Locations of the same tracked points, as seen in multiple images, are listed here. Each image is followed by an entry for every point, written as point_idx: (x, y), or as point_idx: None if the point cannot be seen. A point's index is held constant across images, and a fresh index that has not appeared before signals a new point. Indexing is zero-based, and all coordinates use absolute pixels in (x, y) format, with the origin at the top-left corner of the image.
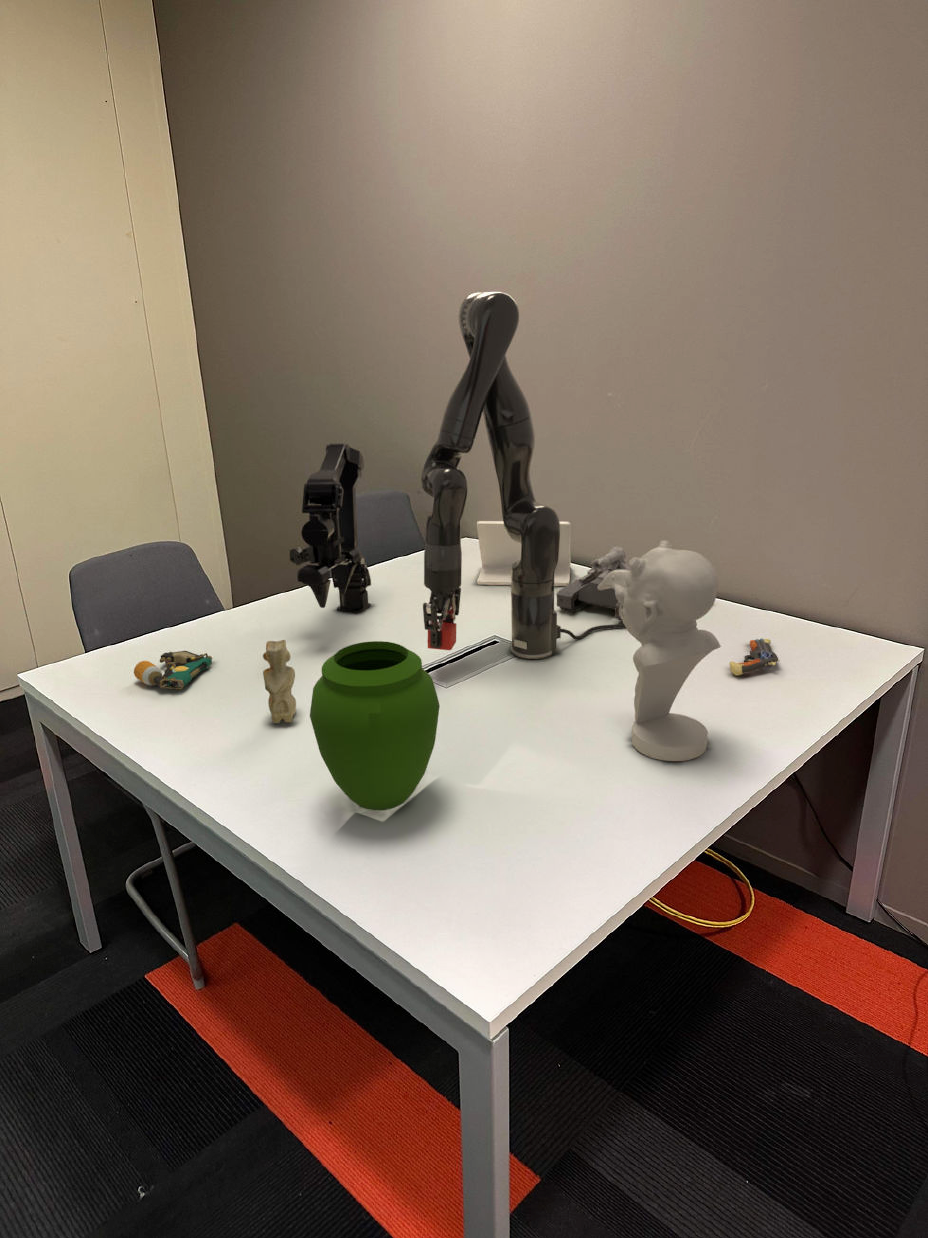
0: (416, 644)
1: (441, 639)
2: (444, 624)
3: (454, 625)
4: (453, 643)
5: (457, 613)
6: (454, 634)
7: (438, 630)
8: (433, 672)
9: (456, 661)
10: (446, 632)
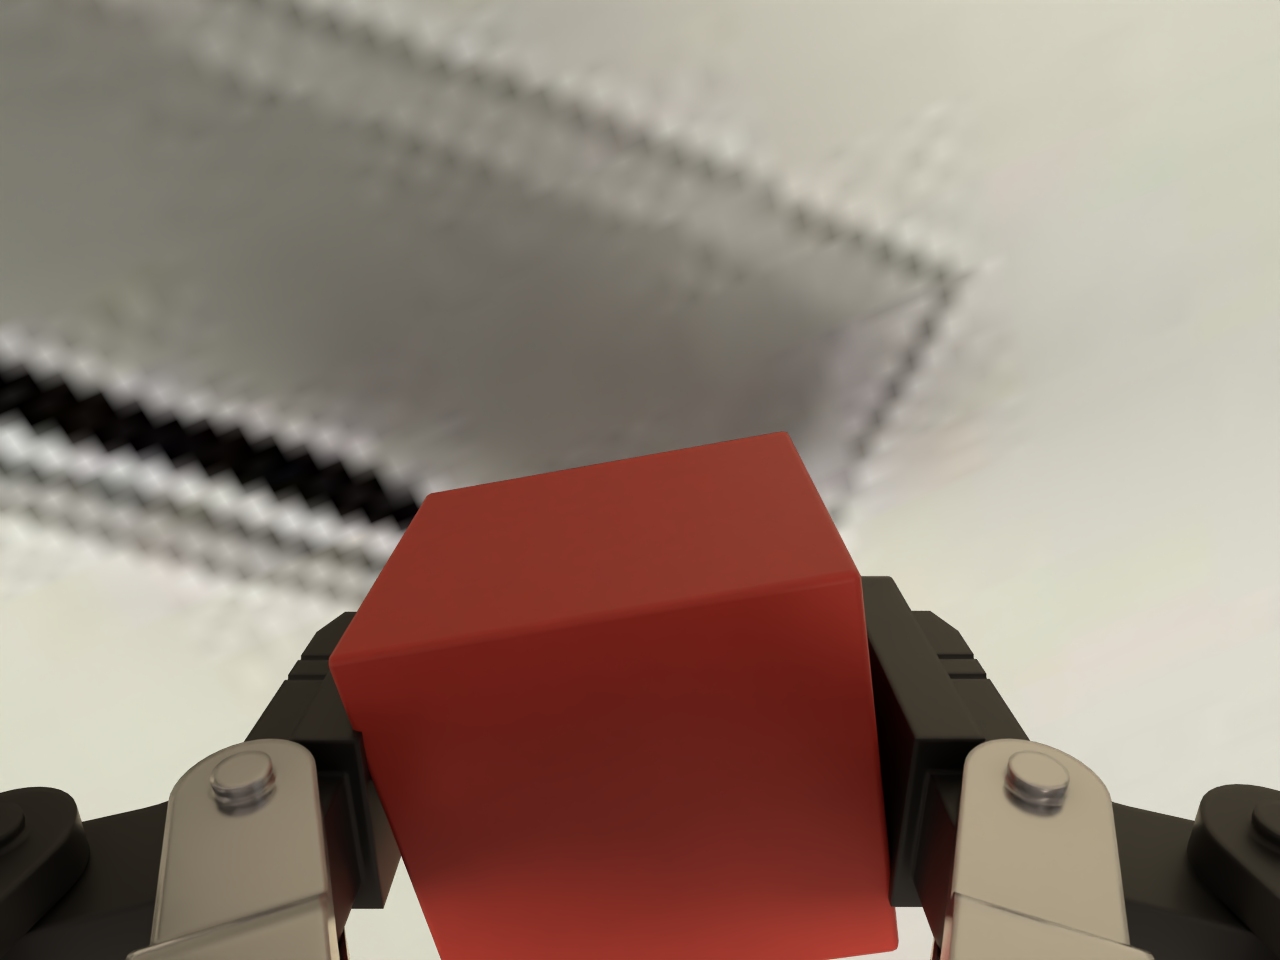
0: None
1: (874, 634)
2: (521, 820)
3: (477, 645)
4: (607, 477)
5: (21, 829)
6: (531, 543)
7: (1082, 781)
8: None
9: (331, 444)
10: (864, 640)
